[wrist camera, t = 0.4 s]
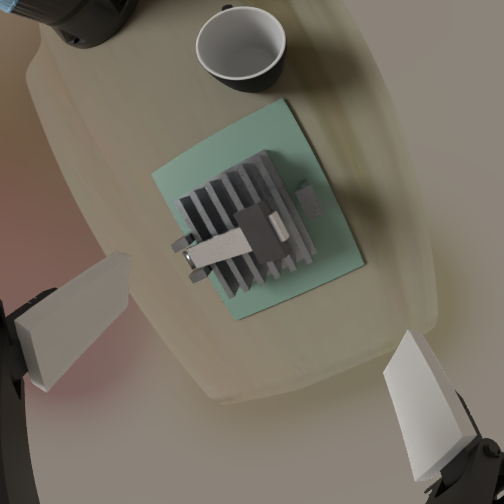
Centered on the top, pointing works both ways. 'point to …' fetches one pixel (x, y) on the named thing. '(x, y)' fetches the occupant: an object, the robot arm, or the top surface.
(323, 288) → the top surface
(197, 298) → the top surface
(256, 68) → the mug
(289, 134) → the board
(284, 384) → the top surface
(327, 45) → the top surface
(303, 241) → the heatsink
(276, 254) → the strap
